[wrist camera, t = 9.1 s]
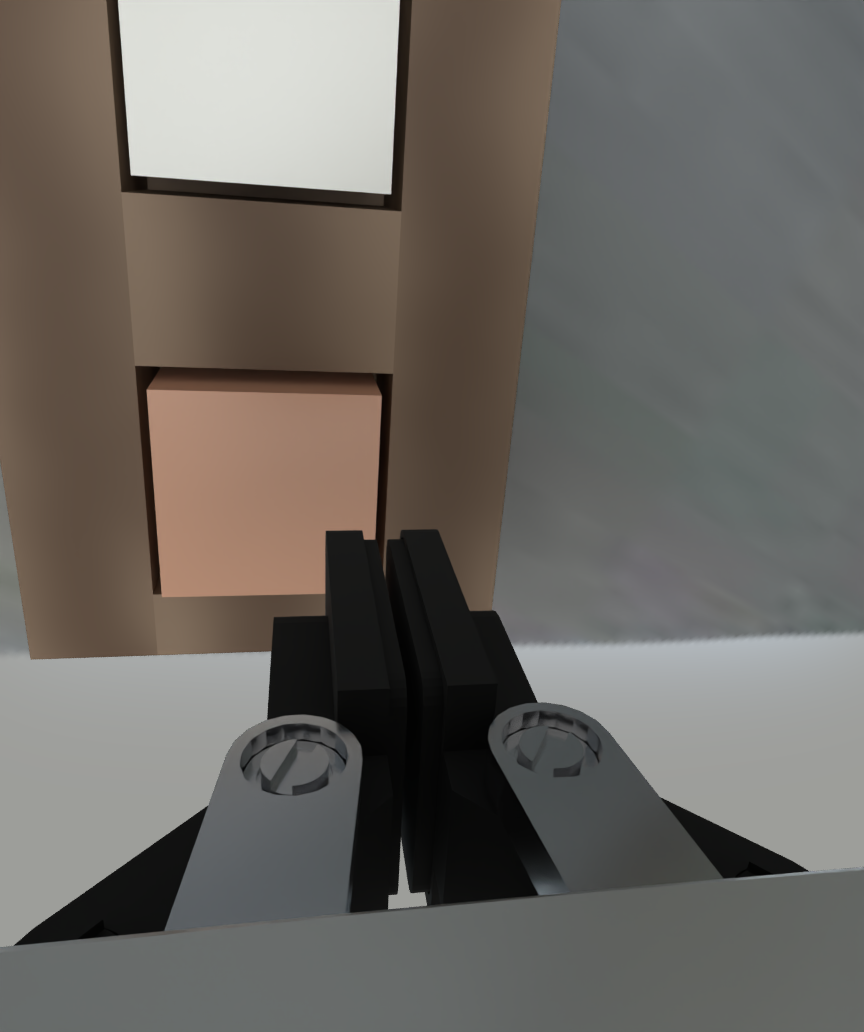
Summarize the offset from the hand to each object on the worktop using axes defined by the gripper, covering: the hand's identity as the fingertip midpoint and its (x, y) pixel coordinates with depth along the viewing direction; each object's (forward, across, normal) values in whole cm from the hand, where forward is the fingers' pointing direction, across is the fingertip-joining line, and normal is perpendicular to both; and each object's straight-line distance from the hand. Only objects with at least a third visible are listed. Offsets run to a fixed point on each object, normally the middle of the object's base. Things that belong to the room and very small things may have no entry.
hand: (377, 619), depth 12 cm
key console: (+16, +2, -3) cm, 17 cm away
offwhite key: (+14, +2, -9) cm, 16 cm away
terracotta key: (+14, +2, +2) cm, 14 cm away
